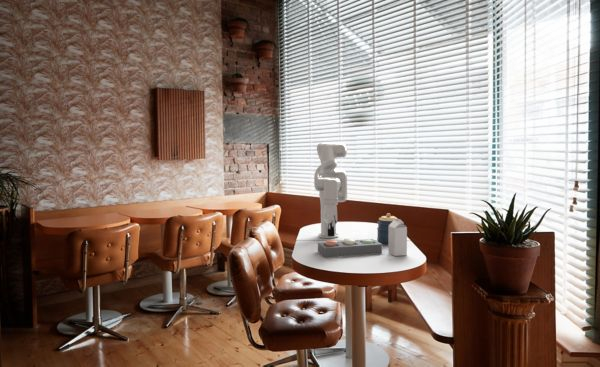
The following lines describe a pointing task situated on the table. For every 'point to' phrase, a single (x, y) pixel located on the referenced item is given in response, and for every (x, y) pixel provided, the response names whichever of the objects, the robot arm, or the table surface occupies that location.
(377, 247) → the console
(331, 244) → the button terracotta
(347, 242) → the button cream
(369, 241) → the button sage
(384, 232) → the canister
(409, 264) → the table surface
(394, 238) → the milk carton
